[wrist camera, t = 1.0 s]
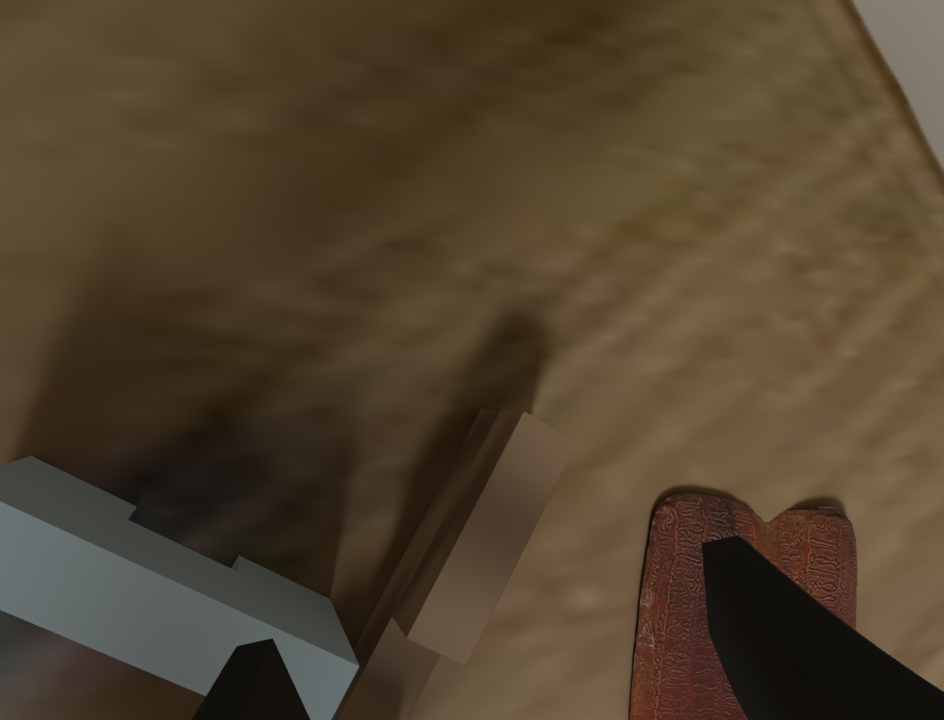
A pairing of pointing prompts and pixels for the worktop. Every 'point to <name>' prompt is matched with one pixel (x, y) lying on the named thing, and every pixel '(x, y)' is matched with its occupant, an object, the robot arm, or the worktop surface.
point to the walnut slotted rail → (456, 561)
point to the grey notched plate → (155, 591)
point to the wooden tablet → (684, 600)
